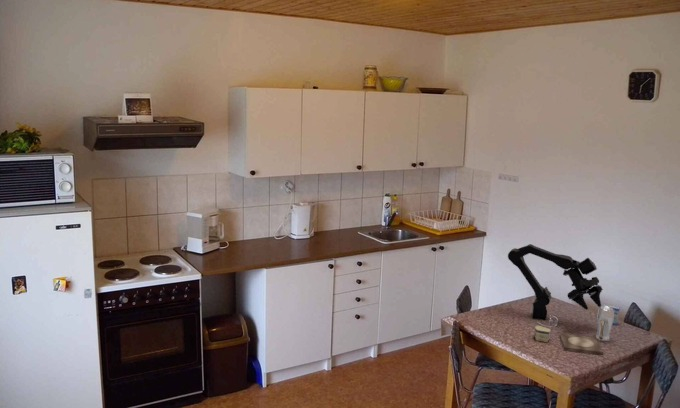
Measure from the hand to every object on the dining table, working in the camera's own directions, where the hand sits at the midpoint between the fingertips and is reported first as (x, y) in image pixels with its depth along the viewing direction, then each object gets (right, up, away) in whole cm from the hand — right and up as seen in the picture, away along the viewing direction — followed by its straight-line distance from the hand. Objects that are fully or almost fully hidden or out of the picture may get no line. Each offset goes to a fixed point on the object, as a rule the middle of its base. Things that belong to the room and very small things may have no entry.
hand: (593, 308), depth 272 cm
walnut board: (-12, -15, -13) cm, 23 cm away
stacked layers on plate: (-28, -14, -7) cm, 32 cm away
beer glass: (+3, -14, -4) cm, 15 cm away
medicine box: (+16, -11, +18) cm, 26 cm away
